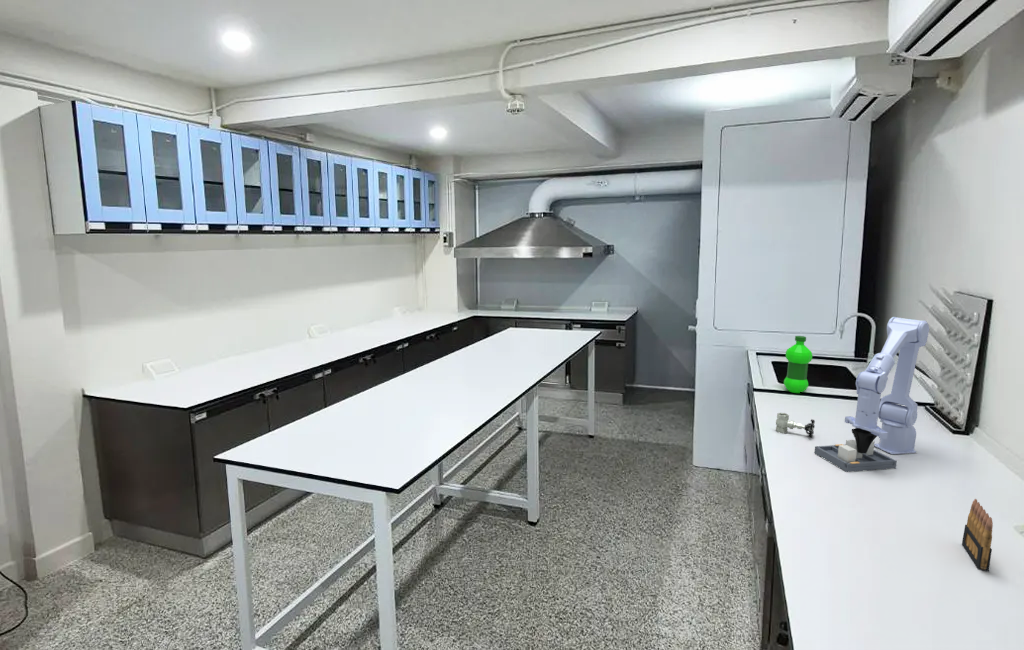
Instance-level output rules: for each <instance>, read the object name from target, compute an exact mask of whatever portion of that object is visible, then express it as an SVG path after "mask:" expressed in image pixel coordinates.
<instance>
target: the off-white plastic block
mask: <svg viewBox="0 0 1024 650" xmlns="http://www.w3.org/2000/svg"><path fill="white" fill-rule="evenodd" d="M856 452H857V450H856V449H854V448H852V447H850V446H848V445H845V444H843V445H839V448H838V458H839V459H841V460H843V461H845V462H847V463H850V462H855V460H856Z"/></svg>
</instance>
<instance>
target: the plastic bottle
mask: <svg viewBox="0 0 1024 650" xmlns="http://www.w3.org/2000/svg"><path fill="white" fill-rule="evenodd" d="M794 341H795V344H793V345H791V346H790V347H788V348H787V349H786V351H785V358H786V360H787V368H786V369H787V370H786V371H787V372H786V376H785V378H784V379H783V384H784V387H785V388H786V389H787V391H788V392H790V393H792V394H793V393H794V394H801V393H800V392H802V393H803V392H804V391H806V390H807V389H808V388H809V381H808V379H807V377H808V371H809V369H808V368H809V363H810V362H812V360H813V353H812V351H811V350H810V349H809V348H808V347H807V346H806V345H805V342H806V341H807V337H806V336H804V335H795V336H794Z"/></svg>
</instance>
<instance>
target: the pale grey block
mask: <svg viewBox="0 0 1024 650" xmlns="http://www.w3.org/2000/svg"><path fill="white" fill-rule="evenodd" d="M874 444H876V443H875V440H873V442H872V443H871V445H870V446H869V448H868V451H867V453H865V454H867V455H873V451H874V450H875V446H874Z"/></svg>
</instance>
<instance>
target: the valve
mask: <svg viewBox="0 0 1024 650" xmlns="http://www.w3.org/2000/svg"><path fill="white" fill-rule="evenodd" d="M789 418H790V415H789V414H787V413H786V412H778V413H777V414H776V420H775V425H776V426H775V431H776V432H777V433H779V432H780V434H787V433H788V430H789V429H790V430H794V429H798V430H802V429H804V431H805V433H806V434H807V435H808V438H811V439H813V437H814V436H813V435H814V433H815V432H814V431H815V430H814V429H815V422H816V421H815V419H812V418H811V419H810V422H808V423H807V424H804V425H803V423H796V422H795V420H789Z"/></svg>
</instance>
